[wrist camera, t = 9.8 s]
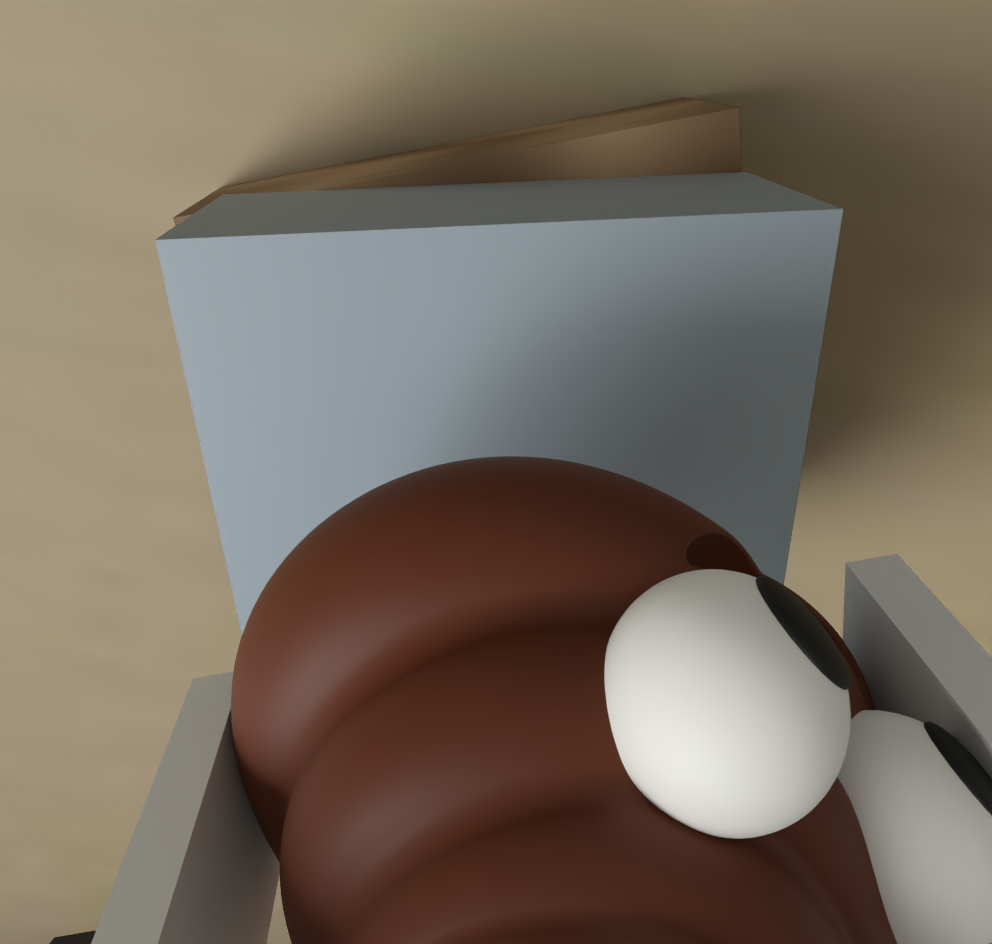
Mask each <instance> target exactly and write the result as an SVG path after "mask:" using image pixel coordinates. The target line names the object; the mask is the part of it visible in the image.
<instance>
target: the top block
mask: <svg viewBox="0 0 992 944" xmlns="http://www.w3.org/2000/svg"><path fill="white" fill-rule="evenodd" d="M842 215H843V209H842V208H840V207H837V206H834V205H832V204H829V203H827V202H824V201H821V200H819V199H816V198H814V197H811V196H808V195H806V194H803V193H801V192H798V191H795V190H793V189H790V188H788V187H785V186H782V185H780V184H777V183H775V182H772V181H769V180H767V179H764V178H762V177H759V176H756V175H754V174H751V173H749V172H735V173H712V174H688V175H665V176H642V177H618V178H595V179H571V180H548V181H525V182H501V183H478V184H454V185H431V186H408V187H384V188H361V189H337V190H314V191H291V192H267V193H244V194H222V195H221V196H219V197H218V198H216V199H215V200H213V201H212V202H211V203H209V204H208V205H206V206H205V207H203V208H202V209H200V210H199V211H197V212H196V213H194V214H193V215H191V216H190V217H188V218H187V219H185V220H184V221H182V222H181V223H179V224H178V225H176V226H175V227H173V228H172V229H171V230H169V231H168V232H166V233H165V234H163V235H162V236H160V237H159V238H157V239H156V240H155V242H156V247H157V251H158V256H159V260H160V265H161V270H162V274H163V279H164V283H165V288H166V292H167V297H168V301H169V306H170V311H171V315H172V320H173V324H174V329H175V333H176V338H177V342H178V347H179V351H180V356H181V361H182V365H183V370H184V374H185V379H186V383H187V388H188V392H189V397H190V401H191V406H192V411H193V415H194V420H195V424H196V429H197V433H198V438H199V442H200V447H201V451H202V456H203V461H204V465H205V470H206V474H207V479H208V483H209V488H210V492H211V497H212V502H213V506H214V511H215V515H216V520H217V524H218V529H219V533H220V538H221V542H222V547H223V552H224V556H225V561H226V565H227V570H228V574H229V579H230V583H231V588H232V592H233V597H234V602H235V606H236V611H237V615H238V620H239V624H240V629H241V633H242V634H243V631H244V629H245V626H246V623H247V621H248V618H249V616H250V614H251V611H252V609H253V607H254V605H255V603H256V602H257V600H258V598H259V596H260V594H261V592H262V590H263V589H264V587H265V586H266V584H267V582H268V581H269V579H270V578H271V577H272V575H273V574H274V572H275V571H276V569H277V568H278V567H279V565H280V564H281V563H282V562H283V560H284V559H285V558H286V557H287V556H288V555H289V553H290V552H291V551H292V550H293V549H294V548H295V547H296V546H297V545H298V544H299V543H300V542H301V541H302V540H303V539H304V538H305V537H306V536H307V535H308V534H309V533H310V532H311V531H312V530H313V529H315V528H316V527H317V526H318V525H319V524H320V523H322V522H323V521H324V520H325V519H327V518H328V517H329V516H331V515H332V514H333V513H335V512H336V511H338V510H339V509H340V508H342V507H343V506H345V505H347V504H348V503H350V502H351V501H353V500H354V499H356V498H358V497H360V496H361V495H363V494H365V493H367V492H368V491H370V490H372V489H374V488H376V487H378V486H380V485H383V484H385V483H387V482H389V481H392V480H394V479H396V478H399V477H402V476H404V475H407V474H410V473H413V472H416V471H419V470H422V469H425V468H429V467H432V466H436V465H440V464H445V463H449V462H455V461H460V460H466V459H474V458H483V457H498V456H522V457H540V458H550V459H558V460H565V461H570V462H575V463H581V464H585V465H589V466H593V467H597V468H601V469H604V470H607V471H611V472H614V473H617V474H620V475H623V476H626V477H629V478H632V479H634V480H636V481H639V482H641V483H644V484H646V485H649V486H651V487H653V488H655V489H657V490H659V491H662V492H664V493H666V494H668V495H670V496H672V497H674V498H675V499H677V500H679V501H681V502H683V503H685V504H686V505H688V506H690V507H691V508H693V509H695V510H697V511H698V512H700V513H701V514H703V515H704V516H706V517H707V518H709V519H710V520H712V521H713V522H715V523H716V524H718V525H719V526H721V527H722V528H723V529H725V530H726V531H728V532H729V533H730V534H732V535H733V536H734V537H735V538H736V539H737V540H738V541H739V542H740V543H741V545H742V546H743V547H744V548H745V549H746V551H747V552H748V553H749V555H750V556H751V557H752V559H753V560H754V562H755V563H756V565H757V567H758V568H759V570H760V571H761V572H762V573H763V574H765V575H767V576H768V577H770V578H772V579H774V580H776V581H778V582H779V583H781V584H782V585H784V579H785V573H786V566H787V560H788V554H789V548H790V541H791V535H792V529H793V522H794V516H795V510H796V504H797V497H798V491H799V485H800V478H801V472H802V466H803V460H804V453H805V447H806V441H807V434H808V428H809V422H810V416H811V409H812V403H813V397H814V390H815V384H816V378H817V372H818V365H819V359H820V353H821V347H822V340H823V334H824V328H825V321H826V315H827V309H828V303H829V296H830V290H831V284H832V277H833V271H834V265H835V259H836V252H837V246H838V240H839V233H840V227H841V221H842Z"/></svg>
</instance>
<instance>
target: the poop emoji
mask: <svg viewBox="0 0 992 944" xmlns="http://www.w3.org/2000/svg"><path fill="white" fill-rule="evenodd" d="M231 720H232V732H233V740H234V747H235V753H236V757H237V762H238V766H239V771H240V774H241V777H242V781H243V784H244V788H245V791H246V794H247V796H248V799H249V802H250V804H251V807H252V810H253V812H254V815H255V817H256V819H257V821H258V823H259V826H260V828H261V830H262V832H263V834H264V836H265V838H266V840H267V842H268V844H269V846H270V847H271V849H272V851H273V853H274V854H275V856H276V858H277V860H278V861H279V863H280V887H281V897H282V904H283V910H284V915H285V920H286V925H287V928H288V932H289V936H290V939H291V942H292V944H989V943H991V942H992V779H991V778H990V776H989V775H988V774H987V772H986V771H985V770H984V768H983V767H982V766H981V765H980V763H979V762H978V761H977V760H976V759H975V758H974V757H973V755H972V754H971V753H970V752H969V751H968V750H967V749H966V748H965V747H964V746H963V745H962V744H961V743H960V742H959V741H958V740H957V739H955V738H954V737H953V736H952V735H951V734H950V733H948V732H947V731H946V730H944V729H943V728H942V727H940V726H938V725H937V724H935V723H932V722H925V723H923V722H921V721H918V720H916V719H914V718H911V717H907V716H904V715H901V714H897V713H893V712H887V711H880V710H874V706H873V702H872V699H871V695H870V692H869V689H868V686H867V684H866V681H865V679H864V676H863V674H862V672H861V670H860V668H859V666H858V664H857V662H856V660H855V658H854V656H853V655H852V653H851V652H850V650H849V648H848V647H847V645H846V644H845V642H844V641H843V640H842V638H841V637H840V636H839V634H838V633H837V632H836V631H835V629H834V628H833V627H832V626H831V625H830V624H829V623H828V621H827V620H826V619H825V618H824V617H823V616H822V615H821V614H820V613H819V612H818V611H817V610H815V609H814V608H813V607H812V606H811V605H810V604H809V603H807V602H806V601H805V600H804V599H803V598H801V597H800V596H799V595H797V594H796V593H795V592H793V591H792V590H790V589H789V588H787V587H786V586H784V585H782V584H781V583H779V582H778V581H776V580H774V579H772V578H770V577H768V576H767V575H765V574H763V573H762V572H761V571H760V570H759V568H758V567H757V565H756V563H755V562H754V560H753V559H752V557H751V556H750V555H749V553H748V552H747V551H746V549H745V548H744V547H743V546H742V545H741V543H740V542H739V541H738V540H737V539H736V538H735V537H734V536H733V535H732V534H730V533H729V532H728V531H726V530H725V529H723V528H722V527H721V526H719V525H718V524H716V523H715V522H713V521H712V520H710V519H709V518H707V517H706V516H704V515H703V514H701V513H700V512H698V511H697V510H695V509H693V508H691V507H690V506H688V505H686V504H685V503H683V502H681V501H679V500H677V499H675V498H674V497H672V496H670V495H668V494H666V493H664V492H662V491H659V490H657V489H655V488H653V487H651V486H649V485H646V484H644V483H641V482H639V481H636V480H634V479H632V478H629V477H626V476H623V475H620V474H617V473H614V472H611V471H607V470H604V469H601V468H597V467H593V466H589V465H585V464H581V463H575V462H570V461H565V460H558V459H550V458H540V457H522V456H498V457H483V458H474V459H466V460H460V461H455V462H449V463H445V464H440V465H436V466H432V467H429V468H425V469H422V470H419V471H416V472H413V473H410V474H407V475H404V476H402V477H399V478H396V479H394V480H392V481H389V482H387V483H385V484H383V485H380V486H378V487H376V488H374V489H372V490H370V491H368V492H367V493H365V494H363V495H361V496H360V497H358V498H356V499H354V500H353V501H351V502H350V503H348V504H347V505H345V506H343V507H342V508H340V509H339V510H338V511H336V512H335V513H333V514H332V515H331V516H329V517H328V518H327V519H325V520H324V521H323V522H322V523H320V524H319V525H318V526H317V527H316V528H315V529H313V530H312V531H311V532H310V533H309V534H308V535H307V536H306V537H305V538H304V539H303V540H302V541H301V542H300V543H299V544H298V545H297V546H296V547H295V548H294V549H293V550H292V551H291V552H290V553H289V555H288V556H287V557H286V558H285V559H284V560H283V562H282V563H281V564H280V565H279V567H278V568H277V569H276V571H275V572H274V574H273V575H272V577H271V578H270V579H269V581H268V582H267V584H266V586H265V587H264V589H263V590H262V592H261V594H260V596H259V598H258V600H257V602H256V603H255V605H254V607H253V609H252V611H251V614H250V616H249V618H248V621H247V623H246V626H245V629H244V631H243V634H242V637H241V641H240V644H239V648H238V652H237V656H236V661H235V666H234V672H233V679H232V692H231Z"/></svg>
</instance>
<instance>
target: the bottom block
mask: <svg viewBox="0 0 992 944" xmlns="http://www.w3.org/2000/svg"><path fill="white" fill-rule="evenodd" d="M735 172H741V148H740V117H739V107H733V106H728V105H722V104H717V103H711V102H706V101H700V100H694V99H689V98H678V99H673V100H668V101H663V102H658V103H653V104H648V105H642V106H637V107H632V108H627V109H622V110H617V111H612V112H607V113H601V114H596V115H591V116H586V117H581V118H576V119H571V120H566V121H561V122H555V123H550V124H545V125H540V126H535V127H530V128H525V129H520V130H514V131H509V132H504V133H499V134H494V135H489V136H484V137H479V138H473V139H468V140H463V141H458V142H453V143H448V144H443V145H438V146H433V147H427V148H422V149H417V150H412V151H407V152H402V153H397V154H392V155H386V156H381V157H376V158H371V159H366V160H361V161H356V162H351V163H346V164H340V165H335V166H330V167H325V168H320V169H315V170H310V171H305V172H299V173H294V174H289V175H284V176H279V177H274V178H269V179H264V180H258V181H253V182H248V183H243V184H238V185H233V186H228V187H223V188H219V189H218V190H216V191H214V192H213V193H211V194H210V195H208V196H207V197H205V198H203V199H202V200H200V201H199V202H197V203H196V204H194V205H192V206H191V207H189V208H188V209H186V210H185V211H183V212H182V213H180V214H178V215H177V216H175V217H174V218H173V219H174V222H175V225H178V224H179V223H181V222H182V221H184V220H185V219H187V218H188V217H190V216H191V215H193V214H194V213H196V212H197V211H199V210H200V209H202V208H203V207H205V206H206V205H208V204H209V203H211V202H212V201H213V200H215V199H216V198H218V197H219V196H221V195H222V194H244V193H267V192H291V191H314V190H337V189H361V188H384V187H408V186H431V185H454V184H478V183H501V182H525V181H548V180H571V179H595V178H618V177H642V176H665V175H688V174H712V173H735Z"/></svg>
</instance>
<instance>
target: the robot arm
mask: <svg viewBox="0 0 992 944" xmlns="http://www.w3.org/2000/svg"><path fill="white" fill-rule="evenodd" d="M843 641H844V642H845V644H846V645H847V647H848V648H849V650H850V652H851V653H852V655H853V656H854V658H855V660H856V662H857V664H858V666H859V668H860V670H861V672H862V674H863V676H864V679H865V681H866V684H867V686H868V689H869V692H870V695H871V699H872V702H873V706H874V710H880V711H887V712H893V713H897V714H901V715H904V716H907V717H911V718H914V719H916V720H918V721H921V722H923V723H925V722H932V723H935V724H937V725H938V726H940V727H942V728H943V729H944V730H946V731H947V732H948V733H950V734H951V735H952V736H953V737H954V738H955V739H957V740H958V741H959V742H960V743H961V744H962V745H963V746H964V747H965V748H966V749H967V750H968V751H969V752H970V753H971V754H972V755H973V757H974V758H975V759H976V760H977V761H978V762H979V763H980V765H981V766H982V767H983V768H984V770H985V771H986V772H987V774H988V775H989V776H990V778H991V779H992V657H991V656H990V655H989V654H988V653H987V652H986V651H985V650H984V649H983V648H982V646H981V645H980V644H979V643H978V642H977V641H976V640H975V639H974V638H973V637H972V635H971V634H970V633H969V632H968V631H967V630H966V629H965V628H964V627H963V626H962V625H961V623H960V622H959V621H958V620H957V619H956V618H955V617H954V616H953V615H952V614H951V612H950V611H949V610H948V609H947V608H946V607H945V606H944V605H943V604H942V603H941V601H940V600H939V599H938V598H937V597H936V596H935V595H934V594H933V593H932V592H931V591H930V589H929V588H928V587H927V586H926V585H925V584H924V583H923V582H922V581H921V580H920V578H919V577H918V576H917V575H916V574H915V573H914V572H913V571H912V570H911V569H910V567H909V566H908V565H907V564H906V563H905V562H904V561H903V560H902V559H901V558H900V557H899V555H898V554H893V555H887V556H882V557H876V558H870V559H865V560H859V561H853V562H848V563H846V569H845V594H844V620H843ZM232 679H233V672H229V673H223V674H217V675H212V676H206V677H201V678H195V679H193V680H192V683H191V685H190V688H189V690H188V693H187V696H186V698H185V701H184V703H183V706H182V709H181V711H180V714H179V716H178V719H177V722H176V724H175V727H174V729H173V732H172V735H171V737H170V740H169V742H168V745H167V748H166V750H165V753H164V755H163V758H162V761H161V763H160V766H159V768H158V771H157V774H156V776H155V779H154V781H153V784H152V787H151V789H150V792H149V794H148V797H147V800H146V802H145V805H144V807H143V810H142V813H141V815H140V818H139V820H138V823H137V826H136V828H135V831H134V833H133V836H132V839H131V841H130V844H129V846H128V849H127V852H126V854H125V857H124V860H123V862H122V865H121V867H120V870H119V873H118V875H117V878H116V880H115V883H114V886H113V888H112V891H111V893H110V896H109V899H108V901H107V904H106V906H105V909H104V912H103V914H102V917H101V919H100V922H99V925H98V927H97V930H96V931H90V932H84V933H78V934H73V935H67V936H61V937H55V938H54V939H53V940H52V941H51V943H50V944H266V942H267V937H268V931H269V926H270V921H271V916H272V910H273V905H274V900H275V894H276V889H277V884H278V879H279V873H280V863H279V861H278V860H277V858H276V856H275V854H274V853H273V851H272V849H271V847H270V846H269V844H268V842H267V840H266V838H265V836H264V834H263V832H262V830H261V828H260V826H259V823H258V821H257V819H256V817H255V815H254V812H253V810H252V807H251V804H250V802H249V799H248V796H247V794H246V791H245V788H244V784H243V781H242V777H241V774H240V771H239V766H238V762H237V757H236V753H235V747H234V740H233V732H232V720H231V692H232ZM991 944H992V942H991Z"/></svg>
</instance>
